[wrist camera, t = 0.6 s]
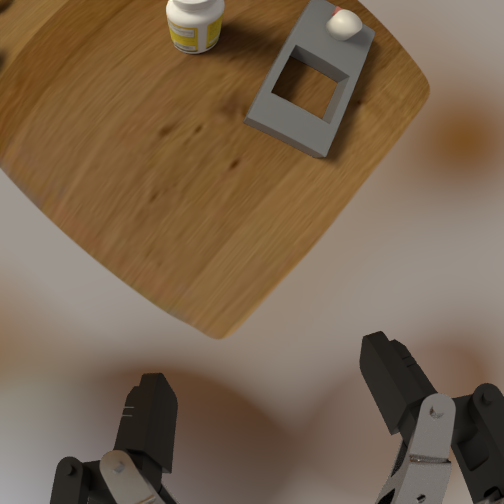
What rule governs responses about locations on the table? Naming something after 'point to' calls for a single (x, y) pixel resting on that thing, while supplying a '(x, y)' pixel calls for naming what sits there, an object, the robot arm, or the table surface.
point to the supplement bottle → (195, 24)
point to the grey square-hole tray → (323, 60)
